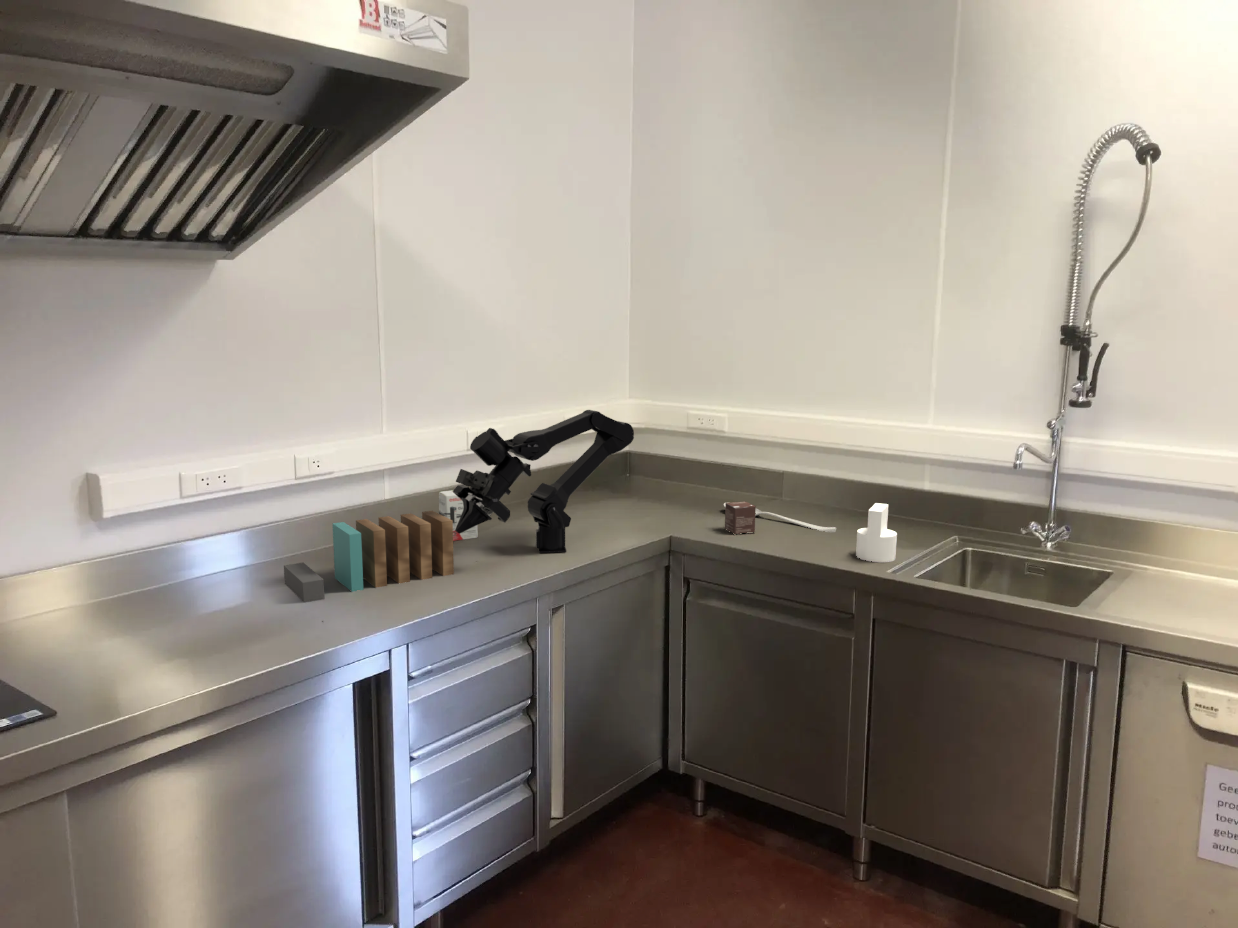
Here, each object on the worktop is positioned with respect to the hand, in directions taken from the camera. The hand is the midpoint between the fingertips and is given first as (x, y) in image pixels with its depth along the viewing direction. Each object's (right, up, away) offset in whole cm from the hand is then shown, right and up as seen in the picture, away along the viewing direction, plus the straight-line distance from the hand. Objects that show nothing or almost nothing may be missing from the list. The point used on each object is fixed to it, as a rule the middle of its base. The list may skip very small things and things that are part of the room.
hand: (457, 532), depth 202 cm
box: (+67, -3, +34) cm, 76 cm away
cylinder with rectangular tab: (+97, -7, +12) cm, 98 cm away
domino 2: (-16, -9, -10) cm, 21 cm away
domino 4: (-8, -8, -4) cm, 12 cm away
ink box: (-4, -3, +25) cm, 26 cm away
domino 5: (-4, -8, -1) cm, 9 cm away
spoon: (+79, -1, +46) cm, 92 cm away
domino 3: (-12, -9, -7) cm, 17 cm away
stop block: (-28, -11, -18) cm, 35 cm away
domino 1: (-20, -10, -12) cm, 26 cm away
